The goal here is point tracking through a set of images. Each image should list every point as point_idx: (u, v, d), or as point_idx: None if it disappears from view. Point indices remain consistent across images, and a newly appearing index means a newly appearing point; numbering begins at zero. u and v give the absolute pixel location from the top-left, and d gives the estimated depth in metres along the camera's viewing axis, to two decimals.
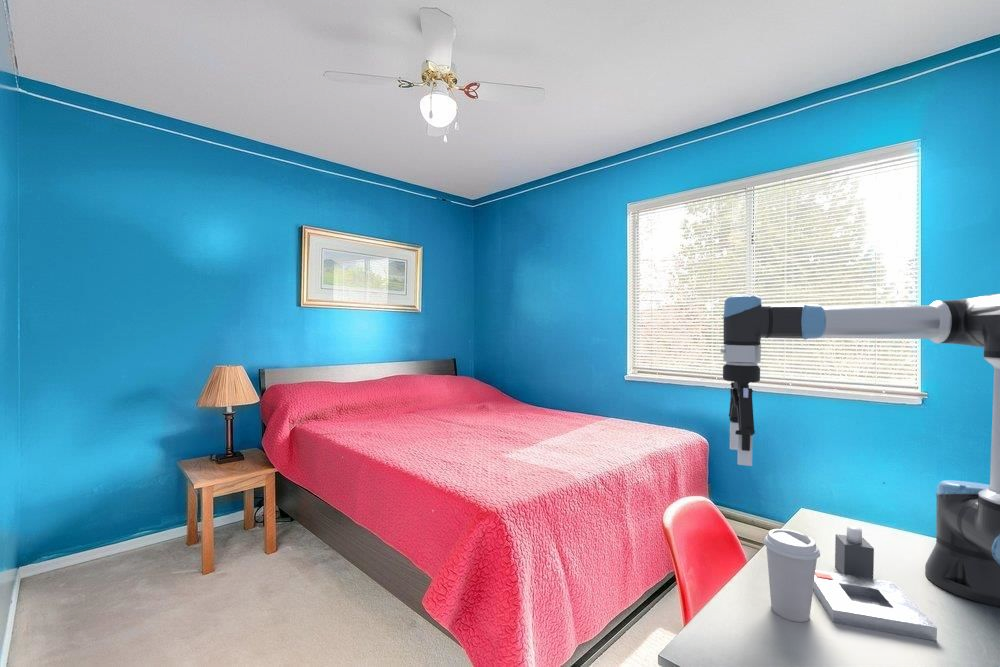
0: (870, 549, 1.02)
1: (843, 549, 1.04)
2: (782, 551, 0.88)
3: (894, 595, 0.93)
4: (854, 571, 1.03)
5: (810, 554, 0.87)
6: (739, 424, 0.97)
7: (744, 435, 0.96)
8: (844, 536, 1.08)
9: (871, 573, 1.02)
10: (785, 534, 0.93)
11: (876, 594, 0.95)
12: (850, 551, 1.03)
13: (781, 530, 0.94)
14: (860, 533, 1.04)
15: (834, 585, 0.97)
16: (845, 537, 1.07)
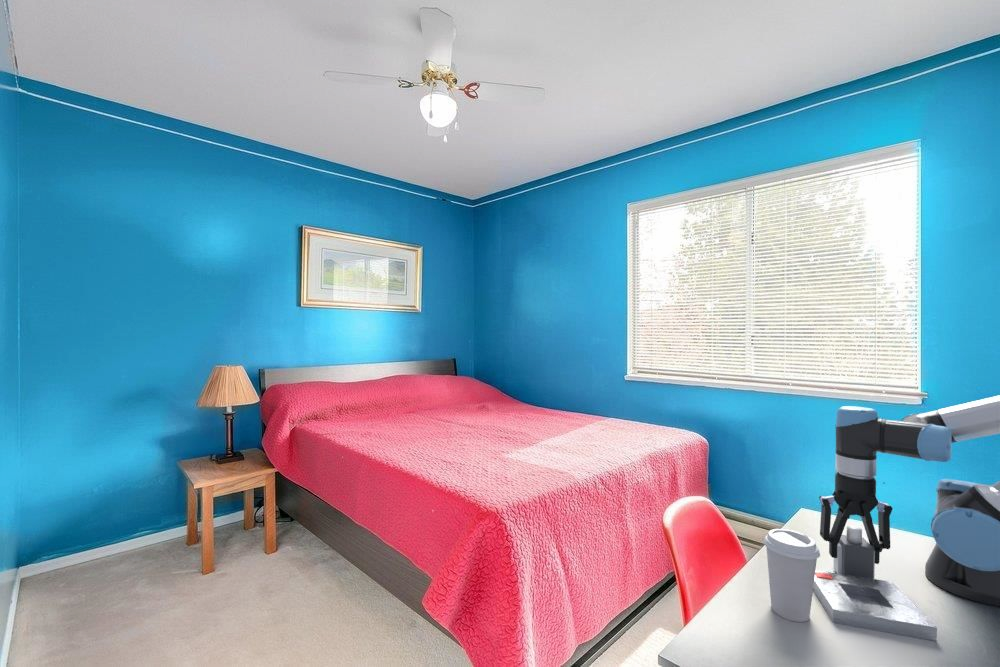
0: (870, 549, 1.02)
1: (843, 549, 1.04)
2: (782, 551, 0.88)
3: (894, 595, 0.93)
4: (854, 571, 1.03)
5: (810, 554, 0.87)
6: None
7: None
8: (844, 536, 1.08)
9: (871, 573, 1.02)
10: (785, 534, 0.93)
11: (876, 594, 0.95)
12: (850, 550, 1.03)
13: (781, 530, 0.94)
14: (860, 533, 1.04)
15: (834, 585, 0.97)
16: (845, 537, 1.07)
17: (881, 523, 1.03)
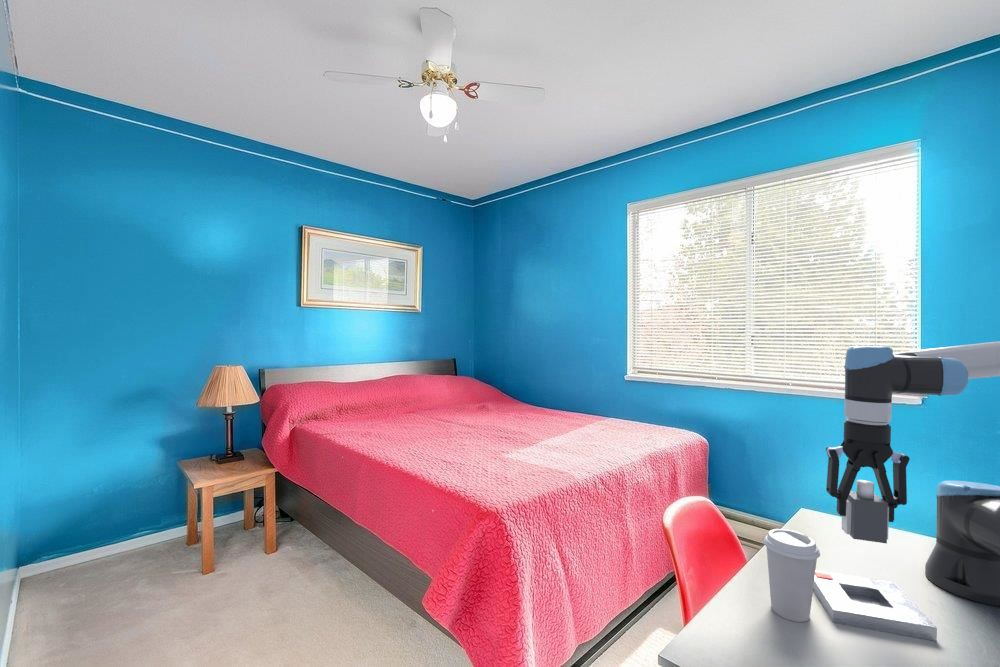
0: (883, 504, 0.90)
1: (853, 505, 0.92)
2: (782, 550, 0.88)
3: (894, 595, 0.93)
4: (865, 529, 0.91)
5: (810, 554, 0.87)
6: None
7: None
8: (854, 492, 0.95)
9: (884, 531, 0.90)
10: (785, 534, 0.93)
11: (876, 594, 0.95)
12: (861, 506, 0.91)
13: (781, 530, 0.94)
14: (872, 487, 0.92)
15: (834, 585, 0.97)
16: (855, 493, 0.95)
17: (896, 476, 0.91)
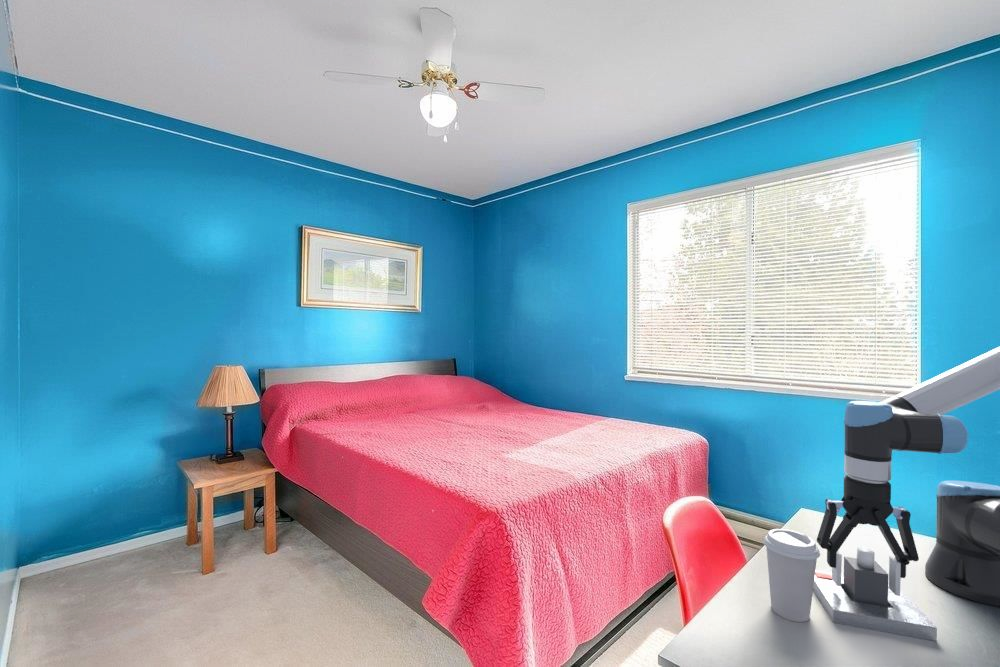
0: (884, 575, 0.90)
1: (853, 575, 0.92)
2: (782, 551, 0.88)
3: (894, 595, 0.93)
4: (866, 600, 0.91)
5: (810, 554, 0.87)
6: None
7: None
8: (854, 559, 0.95)
9: (885, 603, 0.90)
10: (785, 534, 0.93)
11: None
12: (862, 577, 0.91)
13: (781, 530, 0.94)
14: (872, 557, 0.92)
15: (834, 585, 0.97)
16: (855, 560, 0.95)
17: (902, 532, 0.91)
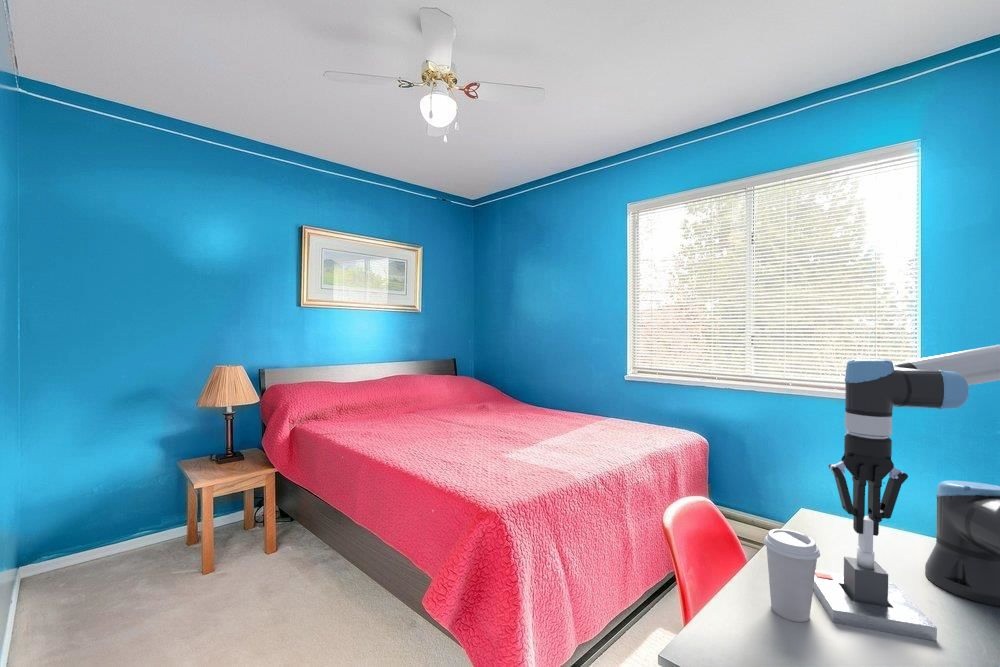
0: (884, 575, 0.90)
1: (853, 575, 0.92)
2: (782, 550, 0.88)
3: (894, 595, 0.93)
4: (866, 600, 0.91)
5: (810, 554, 0.87)
6: None
7: (852, 514, 0.94)
8: (854, 559, 0.95)
9: (885, 603, 0.90)
10: (785, 534, 0.93)
11: None
12: (862, 577, 0.91)
13: (781, 530, 0.94)
14: (872, 557, 0.92)
15: (834, 585, 0.97)
16: (855, 560, 0.95)
17: (888, 490, 0.92)
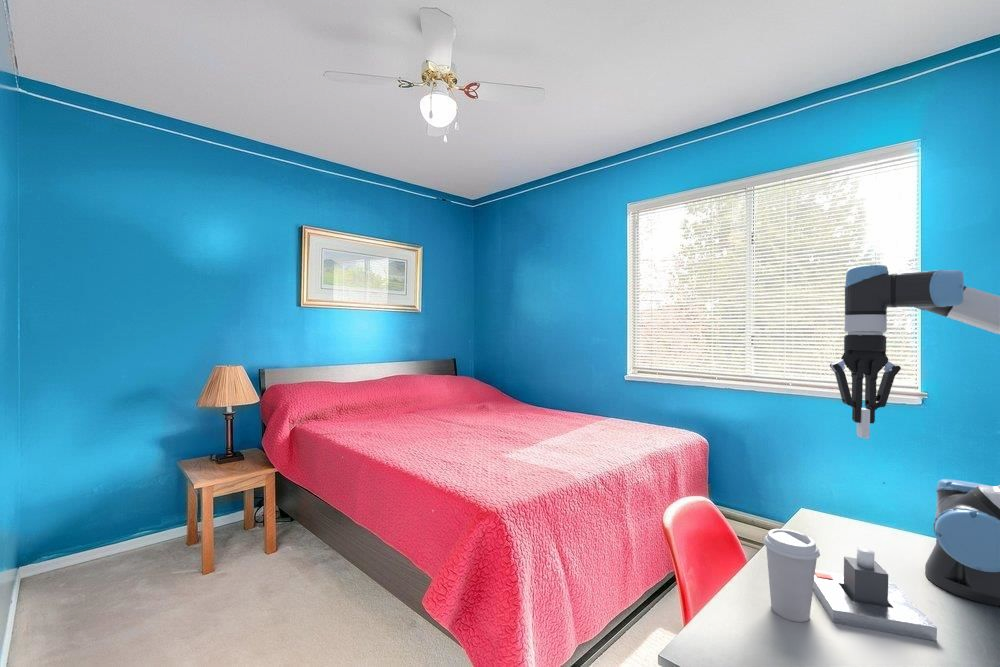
0: (884, 575, 0.90)
1: (853, 575, 0.92)
2: (782, 551, 0.88)
3: (894, 595, 0.93)
4: (866, 600, 0.91)
5: (810, 554, 0.87)
6: (851, 398, 1.05)
7: None
8: (854, 559, 0.95)
9: (885, 603, 0.90)
10: (785, 534, 0.93)
11: None
12: (862, 577, 0.91)
13: (781, 530, 0.94)
14: (872, 557, 0.92)
15: (834, 585, 0.97)
16: (855, 560, 0.95)
17: (883, 383, 1.02)
